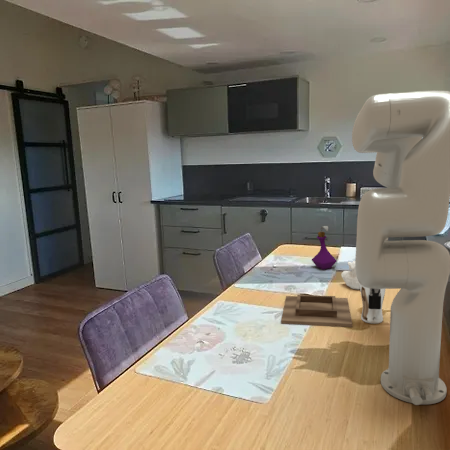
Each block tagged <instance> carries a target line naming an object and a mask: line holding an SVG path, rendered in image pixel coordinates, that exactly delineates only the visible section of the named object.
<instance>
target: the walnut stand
mask: <svg viewBox="0 0 450 450" xmlns="http://www.w3.org/2000/svg"><path fill="white" fill-rule="evenodd" d="M281 314H282V315H281V320H280V324H285V325H303V326H304V325H305V326H325V327H340V328H341V327H342V328H343V327H344V328H353V320H352V316H351V314H352V313H351V309H350V305H349V299H348V297H336V295H314V294H313V295H312V294H311V295H309V294H306V295H305V294H296V295H286V296H285V300H284V305H283V310H282V313H281Z"/></svg>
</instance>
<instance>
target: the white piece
mask: <svg viewBox="0 0 450 450" xmlns="http://www.w3.org/2000/svg"><path fill="white" fill-rule="evenodd" d="M359 290H360V297H361V303H362V311H361V316H360V319H361V320H362V322H365V323H368V324H371V325H372V324H374V325H375V324H381V323H382V322H383V321H384V316H383V305H384V304H383V303H384V299H385V294H386V289H380V290H381V309H369V295H370V289H369V288H366V287H364V286H362V285H361V284H360V289H359ZM372 290H373V288H372Z"/></svg>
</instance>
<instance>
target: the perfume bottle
mask: <svg viewBox="0 0 450 450" xmlns="http://www.w3.org/2000/svg"><path fill="white" fill-rule="evenodd" d="M323 230H325V231H326V232H329V226H328V225H324V226H320V231H319V232H317V236H316V239H317V240H318V241H319V244H320V249H319V252H317V254H316V255H314V257H313V258H312V259H311V261H312V263H313V264H314V265H315V267H316V268H318V269H320V270H329V269H331V268H332V267H333V266H334V265H335V264H336V263H337V259H336V258H335V257H334V256H333V255H332V254H331V253H330V251H329V250H328V248H327V245H326V242H325V240H326V239H327V236H326V232H325V231H323Z"/></svg>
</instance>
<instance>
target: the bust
mask: <svg viewBox="0 0 450 450" xmlns="http://www.w3.org/2000/svg"><path fill="white" fill-rule="evenodd" d="M347 265H348V270H343V272H341V273H340V274H341V279H342V280H343V281H344V283H345V285H346V286H347V287H349V288H350V289H353V290H360V283H359V281H358V279H357V276H356V270H355V260H353V261H347Z"/></svg>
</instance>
